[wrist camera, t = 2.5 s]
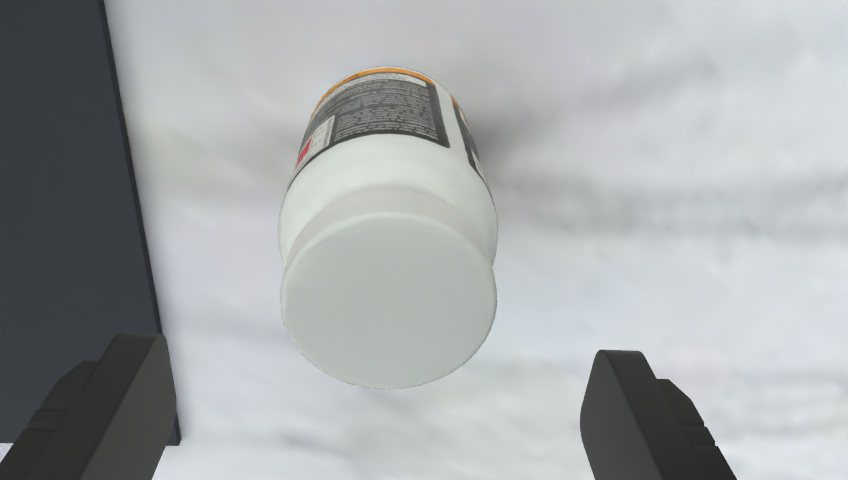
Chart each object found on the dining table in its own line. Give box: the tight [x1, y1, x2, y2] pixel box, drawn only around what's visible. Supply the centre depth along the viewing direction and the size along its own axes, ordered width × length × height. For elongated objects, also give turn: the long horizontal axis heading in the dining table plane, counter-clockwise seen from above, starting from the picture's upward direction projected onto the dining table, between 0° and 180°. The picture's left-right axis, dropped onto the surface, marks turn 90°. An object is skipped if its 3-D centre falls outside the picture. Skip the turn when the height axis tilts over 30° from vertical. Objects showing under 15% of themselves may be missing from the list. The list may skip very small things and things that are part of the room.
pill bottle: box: [278, 66, 498, 389], centre depth 17 cm, size 6×6×10 cm
